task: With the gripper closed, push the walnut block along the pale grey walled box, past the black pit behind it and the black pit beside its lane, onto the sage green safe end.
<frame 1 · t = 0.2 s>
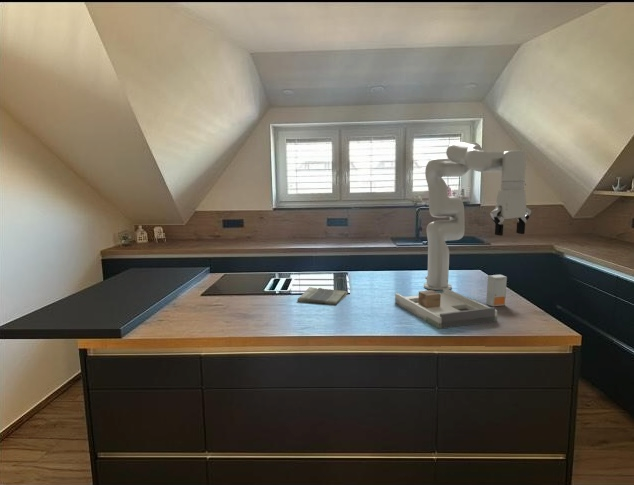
hand: (509, 234, 148), 31 cm above the countertop, tool pointing down, fingers open, 9 cm apart
block: (429, 305, 162), point 2 cm above the countertop, touching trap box
skincare box: (495, 305, 168), on the countertop
dish towel: (323, 299, 181), on the countertop
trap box: (442, 311, 161), on the countertop
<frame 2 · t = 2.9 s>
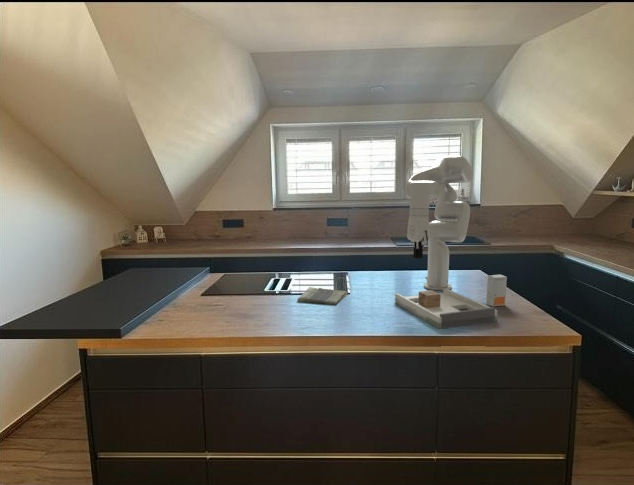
hand: (417, 257, 168), 19 cm above the countertop, tool pointing down, fingers closed
nothing on the countertop moved.
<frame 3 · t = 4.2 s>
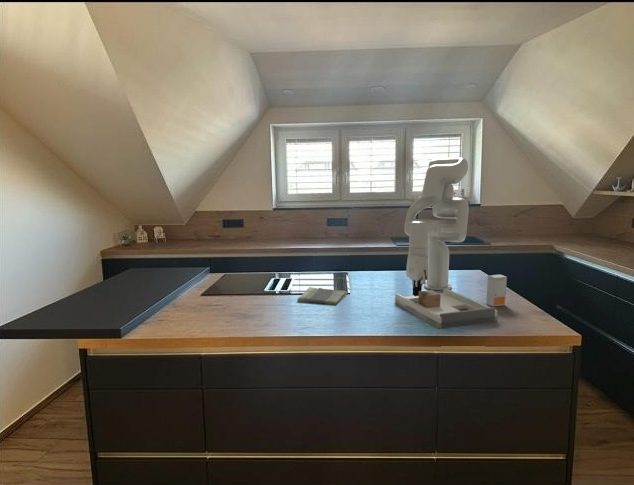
hand: (416, 295, 170), 4 cm above the countertop, tool pointing down, fingers closed
nothing on the countertop moved.
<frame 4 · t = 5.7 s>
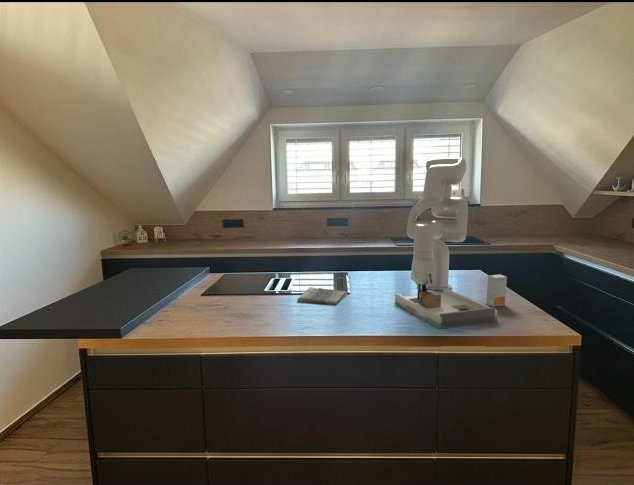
hand: (422, 299, 167), 3 cm above the countertop, tool pointing down, fingers closed
block: (429, 305, 162), point 2 cm above the countertop, touching gripper, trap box
everything else where it was.
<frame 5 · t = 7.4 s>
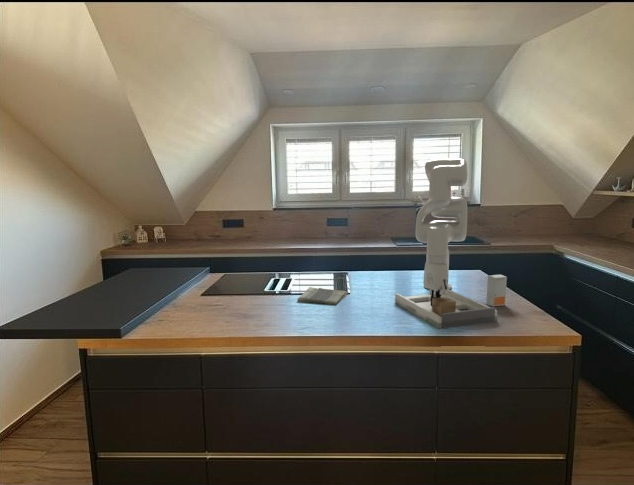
hand: (435, 306, 158), 3 cm above the countertop, tool pointing down, fingers closed
block: (443, 312, 153), point 2 cm above the countertop, touching gripper
everything else where it was.
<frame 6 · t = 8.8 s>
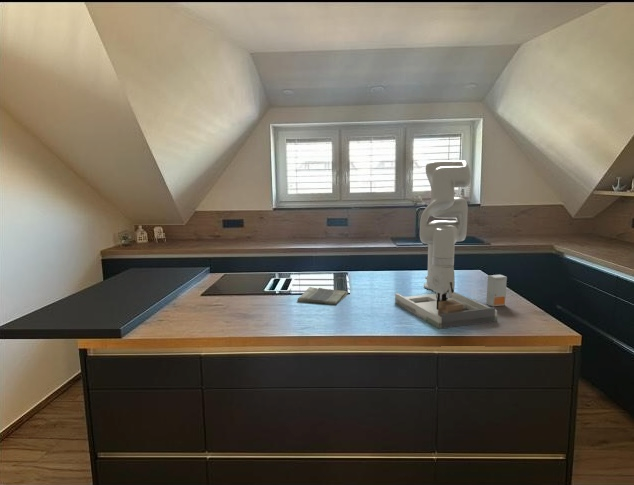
hand: (441, 309, 154), 3 cm above the countertop, tool pointing down, fingers closed
block: (450, 316, 149), point 2 cm above the countertop, touching gripper, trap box
everything else where it was.
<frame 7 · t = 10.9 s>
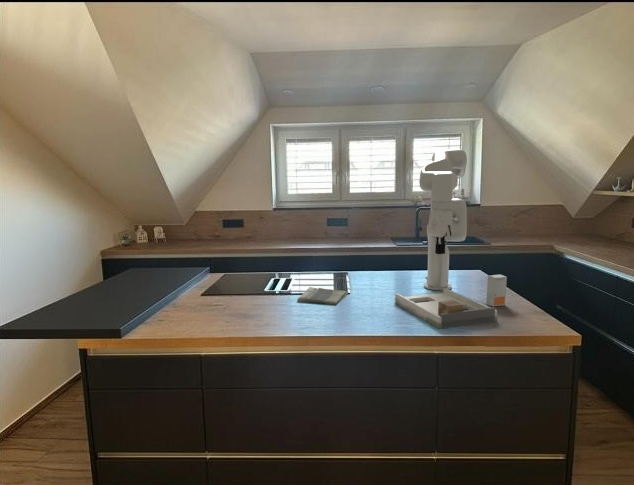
hand: (440, 253, 159), 22 cm above the countertop, tool pointing down, fingers closed
block: (450, 316, 149), point 2 cm above the countertop, touching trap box
everything else where it was.
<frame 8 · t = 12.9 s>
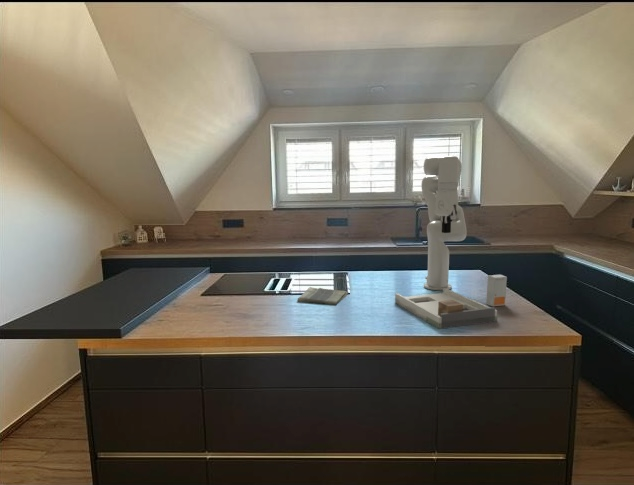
hand: (446, 232, 169), 29 cm above the countertop, tool pointing down, fingers closed
nothing on the countertop moved.
at the end: block inside the target area on the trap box (0.2 cm from its centre), point 2.0 cm above the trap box's base; block tilted 0° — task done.
